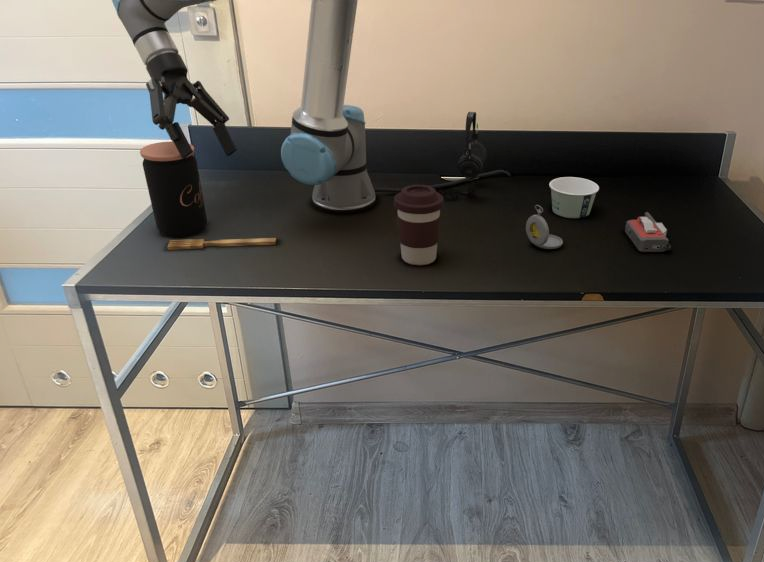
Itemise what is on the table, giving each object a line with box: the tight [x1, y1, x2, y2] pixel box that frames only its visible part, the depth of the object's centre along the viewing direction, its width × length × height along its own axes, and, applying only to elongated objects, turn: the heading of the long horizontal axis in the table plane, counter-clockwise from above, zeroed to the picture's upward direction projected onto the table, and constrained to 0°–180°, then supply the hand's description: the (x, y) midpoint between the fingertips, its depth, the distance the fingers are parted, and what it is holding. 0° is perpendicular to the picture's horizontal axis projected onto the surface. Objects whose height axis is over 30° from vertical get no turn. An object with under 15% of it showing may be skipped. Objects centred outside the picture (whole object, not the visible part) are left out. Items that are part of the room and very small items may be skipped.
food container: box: [548, 176, 600, 219], centre depth 170 cm, size 12×12×6 cm
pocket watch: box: [525, 204, 564, 250], centre depth 152 cm, size 8×8×10 cm
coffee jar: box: [139, 140, 208, 239], centre depth 151 cm, size 11×11×18 cm
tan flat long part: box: [166, 237, 277, 251], centre depth 150 cm, size 22×3×1 cm, turn 99°
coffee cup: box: [393, 184, 444, 266], centre depth 143 cm, size 10×10×15 cm
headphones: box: [439, 111, 488, 201], centre depth 175 cm, size 15×11×20 cm
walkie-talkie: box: [624, 211, 672, 253], centre depth 160 cm, size 9×4×20 cm
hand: (210, 154), depth 148 cm, fingers open, 13 cm apart
